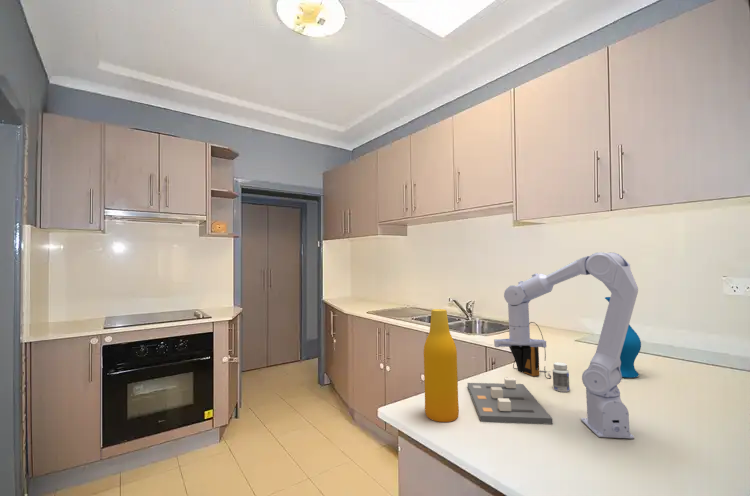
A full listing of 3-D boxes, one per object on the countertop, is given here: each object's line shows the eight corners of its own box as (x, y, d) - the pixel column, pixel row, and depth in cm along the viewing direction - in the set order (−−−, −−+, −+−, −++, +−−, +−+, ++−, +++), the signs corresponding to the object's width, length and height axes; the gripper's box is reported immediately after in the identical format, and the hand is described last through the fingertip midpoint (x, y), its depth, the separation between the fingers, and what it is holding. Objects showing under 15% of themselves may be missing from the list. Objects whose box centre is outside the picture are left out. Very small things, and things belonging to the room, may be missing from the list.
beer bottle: (463, 412, 98) (460, 308, 100) (452, 425, 90) (449, 313, 92) (432, 406, 103) (429, 307, 105) (419, 418, 95) (417, 311, 97)
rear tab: (516, 388, 111) (515, 380, 112) (506, 388, 112) (506, 380, 112) (514, 385, 114) (513, 378, 114) (504, 385, 114) (504, 377, 114)
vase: (610, 378, 124) (606, 299, 125) (597, 368, 136) (593, 296, 138) (650, 380, 121) (645, 299, 123) (632, 370, 133) (628, 296, 135)
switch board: (552, 424, 90) (552, 417, 90) (480, 421, 93) (480, 415, 93) (523, 388, 116) (522, 383, 116) (467, 387, 118) (467, 382, 118)
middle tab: (503, 398, 103) (502, 389, 103) (492, 398, 104) (492, 389, 104) (501, 395, 106) (501, 387, 106) (491, 395, 106) (490, 386, 106)
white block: (511, 411, 94) (510, 401, 94) (499, 410, 95) (499, 401, 95) (509, 407, 97) (508, 398, 97) (497, 407, 97) (497, 398, 97)
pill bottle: (571, 392, 112) (570, 366, 112) (555, 391, 113) (554, 365, 113) (566, 387, 116) (565, 361, 117) (551, 386, 117) (550, 361, 118)
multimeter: (562, 376, 128) (560, 321, 129) (542, 380, 124) (539, 323, 125) (531, 366, 141) (529, 316, 142) (512, 369, 138) (510, 318, 139)
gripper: (539, 323, 108) (541, 367, 107) (491, 323, 110) (493, 367, 109) (548, 327, 101) (550, 374, 100) (496, 327, 103) (498, 374, 102)
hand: (520, 371), depth 104 cm, fingers closed
